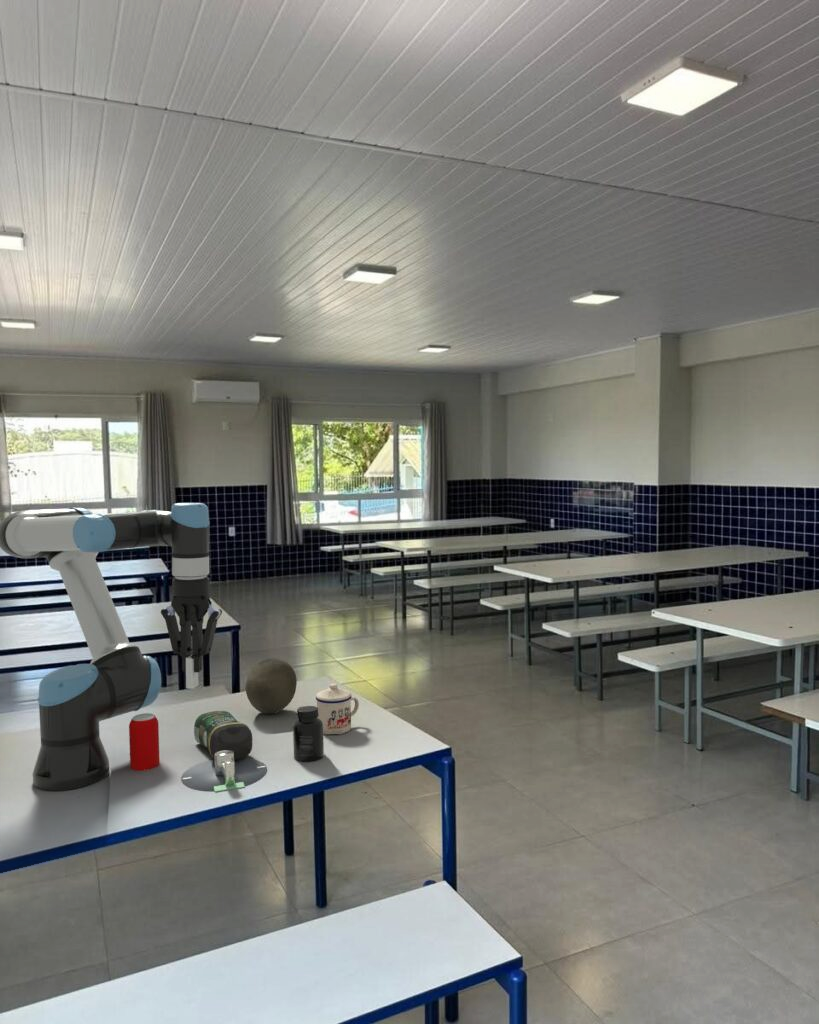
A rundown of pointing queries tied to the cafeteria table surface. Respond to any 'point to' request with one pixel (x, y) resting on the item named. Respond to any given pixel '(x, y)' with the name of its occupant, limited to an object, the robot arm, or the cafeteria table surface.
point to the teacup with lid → (335, 709)
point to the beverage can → (144, 742)
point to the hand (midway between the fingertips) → (192, 686)
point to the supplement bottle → (308, 735)
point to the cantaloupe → (271, 685)
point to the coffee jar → (223, 734)
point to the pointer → (225, 766)
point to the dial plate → (207, 780)
